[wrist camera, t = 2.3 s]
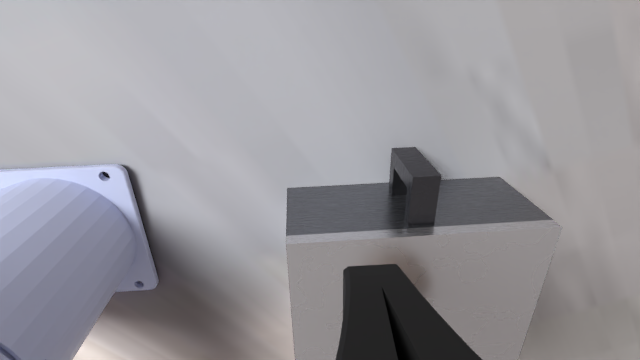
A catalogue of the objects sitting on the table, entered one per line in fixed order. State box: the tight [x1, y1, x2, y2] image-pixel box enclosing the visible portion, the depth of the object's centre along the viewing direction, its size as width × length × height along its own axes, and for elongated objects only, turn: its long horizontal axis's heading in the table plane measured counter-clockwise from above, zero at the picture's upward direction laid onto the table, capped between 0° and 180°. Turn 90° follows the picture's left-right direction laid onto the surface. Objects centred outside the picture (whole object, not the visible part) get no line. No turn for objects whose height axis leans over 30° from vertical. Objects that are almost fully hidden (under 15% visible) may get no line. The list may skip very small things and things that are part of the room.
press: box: [286, 147, 562, 360], centre depth 19 cm, size 12×14×5 cm
